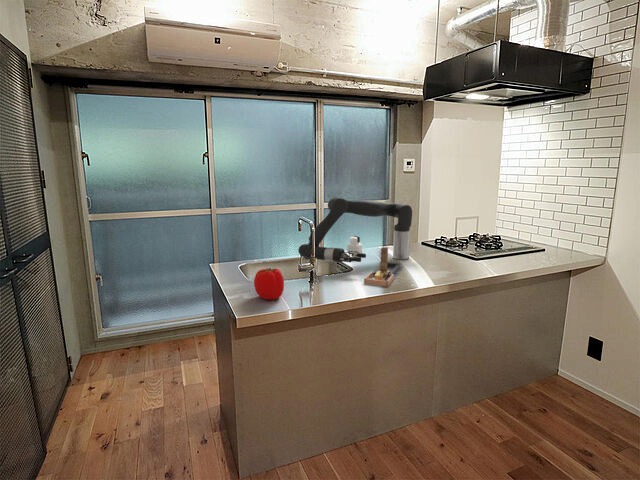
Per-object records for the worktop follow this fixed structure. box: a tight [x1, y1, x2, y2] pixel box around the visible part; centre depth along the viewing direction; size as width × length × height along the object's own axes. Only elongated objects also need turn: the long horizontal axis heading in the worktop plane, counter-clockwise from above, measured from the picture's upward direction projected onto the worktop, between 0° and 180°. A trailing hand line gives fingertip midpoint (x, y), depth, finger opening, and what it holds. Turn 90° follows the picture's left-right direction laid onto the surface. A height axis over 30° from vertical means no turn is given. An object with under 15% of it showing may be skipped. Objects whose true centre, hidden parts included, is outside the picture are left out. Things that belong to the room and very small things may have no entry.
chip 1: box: [374, 273, 385, 281], centre depth 190 cm, size 4×4×4 cm
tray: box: [363, 271, 395, 288], centre depth 190 cm, size 13×12×3 cm
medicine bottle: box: [346, 235, 363, 255], centre depth 243 cm, size 7×7×12 cm
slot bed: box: [372, 261, 404, 280], centre depth 206 cm, size 22×13×3 cm, turn 157°
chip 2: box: [377, 271, 387, 281], centre depth 194 cm, size 4×4×4 cm
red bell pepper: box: [253, 267, 285, 301], centre depth 170 cm, size 16×14×14 cm
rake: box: [380, 246, 390, 279], centre depth 197 cm, size 7×5×15 cm
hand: (363, 257), depth 201 cm, fingers open, 8 cm apart
